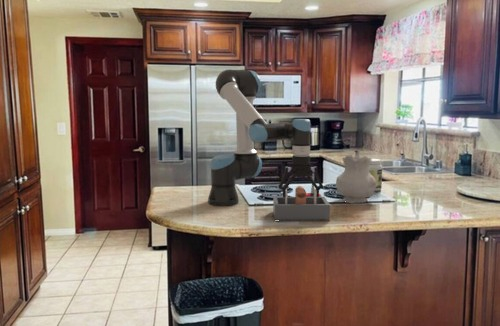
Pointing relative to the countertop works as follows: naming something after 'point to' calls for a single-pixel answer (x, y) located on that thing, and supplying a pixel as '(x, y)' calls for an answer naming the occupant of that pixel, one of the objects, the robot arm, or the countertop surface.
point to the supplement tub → (376, 172)
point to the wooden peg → (300, 195)
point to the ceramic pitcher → (356, 179)
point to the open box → (301, 209)
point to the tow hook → (312, 189)
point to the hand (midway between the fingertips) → (300, 204)
